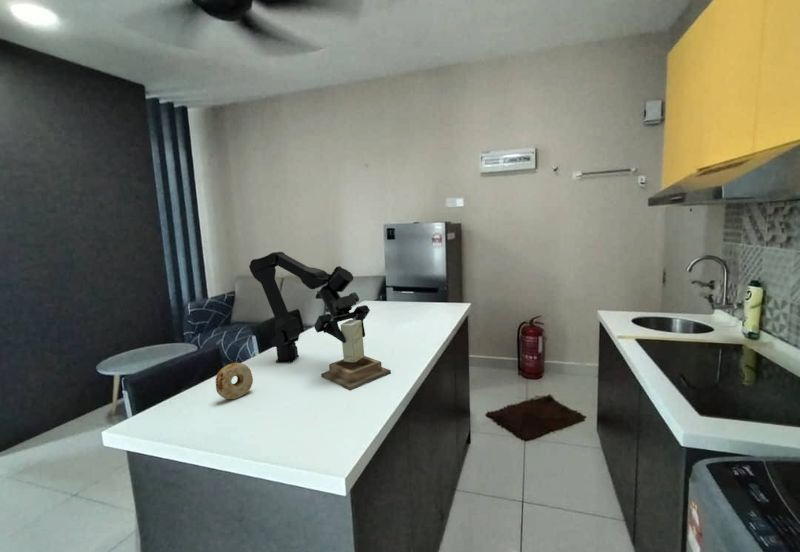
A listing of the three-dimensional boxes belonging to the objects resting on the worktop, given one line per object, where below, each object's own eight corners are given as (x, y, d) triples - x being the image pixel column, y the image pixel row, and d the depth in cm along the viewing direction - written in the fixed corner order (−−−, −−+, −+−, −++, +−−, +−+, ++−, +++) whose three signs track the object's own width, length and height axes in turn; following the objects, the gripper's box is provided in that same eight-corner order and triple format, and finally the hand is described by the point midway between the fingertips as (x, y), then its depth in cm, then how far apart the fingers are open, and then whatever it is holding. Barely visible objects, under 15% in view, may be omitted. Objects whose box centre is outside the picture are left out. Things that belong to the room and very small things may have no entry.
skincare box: (355, 363, 119) (352, 325, 117) (343, 361, 120) (339, 324, 119) (364, 356, 124) (362, 319, 122) (353, 354, 126) (350, 319, 124)
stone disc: (222, 405, 108) (217, 371, 106) (216, 402, 110) (211, 369, 109) (256, 391, 115) (252, 360, 114) (250, 388, 118) (246, 357, 116)
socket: (321, 376, 124) (320, 364, 123) (361, 361, 134) (360, 351, 134) (349, 390, 112) (348, 377, 111) (390, 373, 122) (390, 361, 122)
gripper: (315, 290, 116) (338, 332, 109) (364, 281, 128) (388, 318, 122) (305, 312, 123) (326, 352, 116) (352, 301, 135) (374, 337, 128)
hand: (355, 339), depth 120 cm, fingers closed on skincare box, 7 cm apart
